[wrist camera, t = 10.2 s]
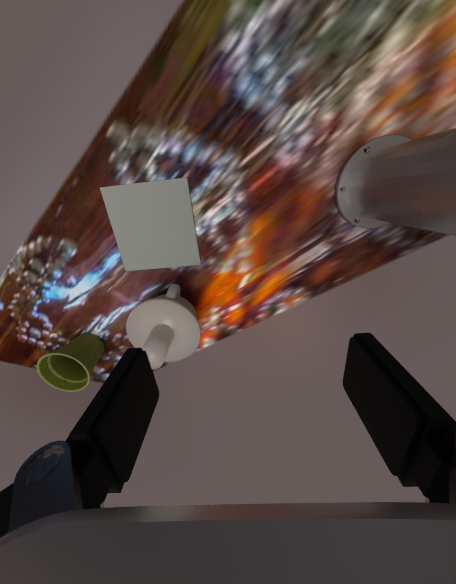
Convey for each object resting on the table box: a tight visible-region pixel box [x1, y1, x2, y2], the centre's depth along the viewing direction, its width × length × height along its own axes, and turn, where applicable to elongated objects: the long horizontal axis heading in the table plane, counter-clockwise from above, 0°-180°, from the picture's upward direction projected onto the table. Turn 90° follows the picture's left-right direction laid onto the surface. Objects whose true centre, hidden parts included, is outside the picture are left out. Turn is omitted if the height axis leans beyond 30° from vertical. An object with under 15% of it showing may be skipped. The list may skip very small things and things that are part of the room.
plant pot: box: [37, 333, 105, 392], centre depth 44 cm, size 9×9×9 cm
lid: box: [126, 298, 201, 369], centre depth 33 cm, size 12×12×7 cm
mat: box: [100, 178, 201, 271], centre depth 37 cm, size 14×14×1 cm
